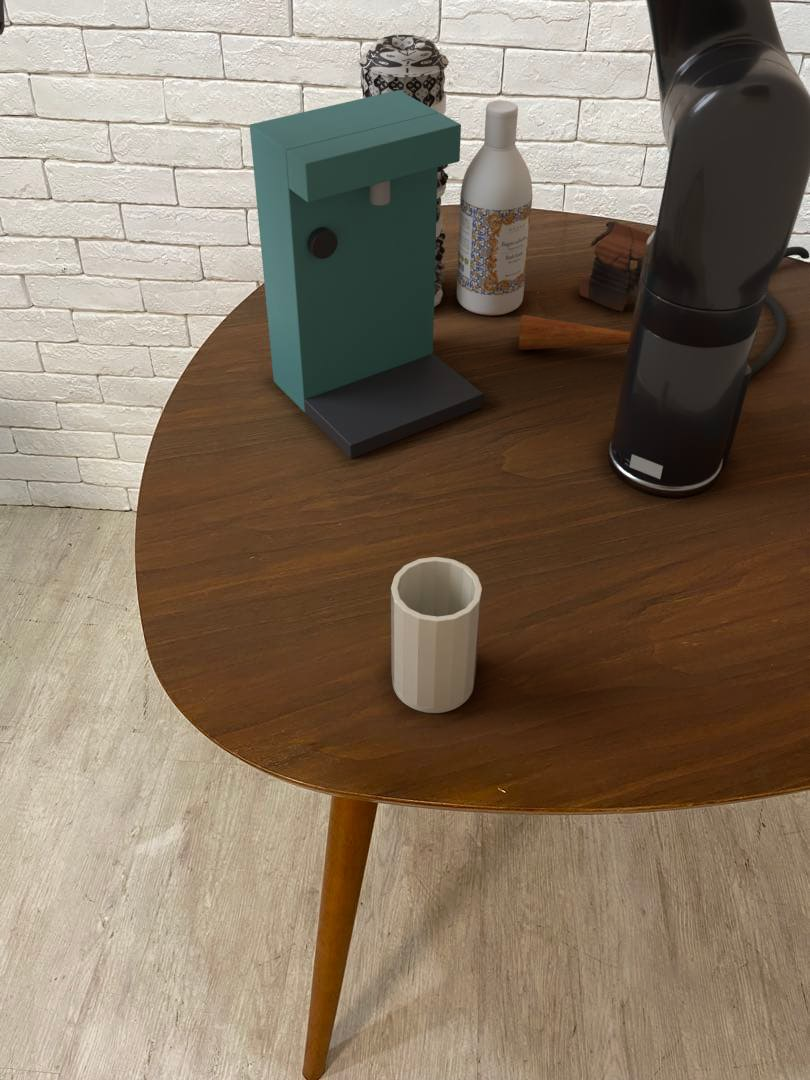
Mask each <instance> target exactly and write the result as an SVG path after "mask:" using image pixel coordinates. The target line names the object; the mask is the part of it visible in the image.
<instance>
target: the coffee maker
mask: <svg viewBox="0 0 810 1080" xmlns="http://www.w3.org/2000/svg"><path fill="white" fill-rule="evenodd" d="M249 134H250V144H251V155H252V168H253V177H254V186H255V188H254V189H255V197H256V209H257V210H256V211H257V219H258V220H257V221H258V228H259V229H258V230H259V239H260V241H259V242H260V250H261V251H260V252H261V261H262V262H261V263H262V273H263V283H264V292H265V293H264V294H265V304H266V314H267V315H266V316H267V323H268V324H267V325H268V334H269V335H268V336H269V346H270V356H271V366H272V367H271V368H272V376H273V377H272V379H273V382H274V383H275V385H277V387H278V388H279V389H280V390H281V391H283V392H284V393H285V395H287V396H288V397H289V398H290V400H291V401H293V403H295V405H297V406H298V408H300V410H301V411H302V412H303V413H305V414H306V415H307V417H308V418H310V420H311V421H313V422H314V424H316V425H317V426H318V427H319V428H320V430H321V431H323V432H324V433H325V435H326V436H328V437H329V439H330V440H331V441H333V442H334V443H335V445H336V446H337V447H339V448H340V450H342V452H344V453H345V455H346V456H348V457H349V458H350V459H355V458H356V457H359V456H362V455H364V454H366V453H369V452H372V451H375V450H377V449H379V448H383V447H384V446H388V445H390V444H392V443H395V442H398V441H400V440H403V439H405V438H409V437H410V436H412V435H415V434H418V433H420V432H423V431H426V430H427V429H430V428H433V427H436V426H438V425H440V424H443V423H445V422H448V421H451V420H453V419H455V418H458V417H460V416H464V415H466V414H469V413H470V412H473V411H476V410H479V409H481V408H483V405H484V403H483V401H484V393H483V392H481V390H479V388H477V387H476V386H474V385H473V384H472V383H471V382H470V381H468V380H467V379H466V378H465V377H463V376H462V375H461V374H459V373H458V372H457V371H456V370H454V369H453V368H452V367H451V366H450V365H448V364H447V363H446V362H445V361H444V360H442V359H441V358H440V357H438V356H437V355H436V354H434V327H435V326H434V323H435V320H434V319H435V307H434V289H435V252H436V214H437V177H438V167H441V166H445V165H448V166H449V165H452V164H455V163H459V162H460V159H461V137H462V136H461V134H462V124H461V123H459V122H457V121H455V120H454V119H452V118H451V117H448V116H447V115H445V114H444V115H443V114H441V113H439V112H437V111H436V110H434V109H432V108H430V107H428V106H427V105H425V104H423V103H421V102H419V101H418V100H416V99H414V98H412V97H410V96H408V95H407V94H405V93H403V92H401V91H399V90H397V91H393V92H388V93H384V94H380V95H375V96H371V97H367V98H362V99H361V98H358V99H354V100H350V101H346V102H341V103H337V104H333V105H332V104H331V105H328V106H323V107H319V108H315V109H311V110H306V111H302V112H298V113H297V112H296V113H294V114H289V115H284V116H279V117H276V118H272V119H267V120H263V121H258V122H255V123H250V124H249Z"/></svg>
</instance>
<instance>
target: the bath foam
mask: <svg viewBox="0 0 810 1080" xmlns="http://www.w3.org/2000/svg"><path fill="white" fill-rule="evenodd" d="M518 114H519V106H518V105H517V104H516V103H515V102H513V101H509V100H493V101H490V102H488V103H487V104H486V107H485V120H484V121H485V122H484V143H483V144H482V145H481V147H480V149H479V150H478V151H477V153H476V154H475V155H474V157H473V158H472V159H471V161H470V162H469V164H468V166H467V168H466V171H465V172H464V176H463V179H462V183H461V188H460V190H461V191H460V195H459V197H460V198H459V199H460V200H459V222H458V223H459V224H458V246H457V270H456V271H457V272H456V299H457V302H458V303H459V305H460V306H461V307H462V308H464V309H466V310H467V311H469V312H471V313H474V314H477V315H482V316H500V315H501V316H502V315H506V314H509V313H511V312H514V311H515V310H517V309H518V308H519V307H520V306H521V305H522V303H523V301H524V294H525V293H524V292H525V283H526V272H527V262H528V261H527V260H528V251H529V250H528V249H529V239H530V229H531V217H532V206H533V182H532V177H531V173H530V170H529V167H528V166H527V163H526V161H525V160H524V158H523V156H522V154H521V152H520V150H519V148H518V147H517V145H516V141H517V140H516V139H517V130H518V129H517V128H518V117H519V115H518Z"/></svg>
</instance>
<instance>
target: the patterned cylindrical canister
mask: <svg viewBox="0 0 810 1080" xmlns="http://www.w3.org/2000/svg"><path fill="white" fill-rule="evenodd" d="M358 63H359V65H360V68H361V86H362V88H361V89H362V90H361V94H360V99H362V98H367V97H371V96H375V95H380V94H384V93H388V92H393V91H397V90H399V91H401V92H403V93H405V94H407V95H408V96H410V97H412V98H414V99H416V100H418V101H419V102H421V103H423V104H425V105H427V106H428V107H430V108H432V109H434V110H436V111H437V112H439V113H441V114H443V115H445V113H446V111H447V94H446V93H445V89H444V88H445V83H446V75H445V69H446V68H447V67H448V65H449V63H450V61H449V59H448V57H447V56H446V55H444V54H443V53H441V52H440V50H439V49H438V47H437V46H436V44H435V43H434V42H433V41H432V40H430V39H428V38H426V37H424V36H419V35H415V34H394V35H387V36H383V37H381V38H379V39H377V40H375V41H374V42H373V43H372V45H371V46H370V47H369V48H368V51H367V52H366V53H364V54H362V55H361V56H360V58H359V59H358ZM448 167H449V164H448V165H445V166H441V167H438V177H437V214H436V252H435V289H434V308H435V307H436V306H438V305H439V304H441V301H442V298H443V296H444V295H443V293H444V292H443V290H442V289H443V286H442V284H443V283H444V282H445V278H444V277H443V274H444V273H443V270H444V269H445V268H446V267H445V264H444V263H443V262H442V261H443V257H444V256H443V254H444V253H445V252H446V250H445V247H444V246H443V244H444V240H445V239H446V234H445V232H443V215H442V213H441V206H442V196H444V194H445V191H446V189H447V182H448V181H449V175H448V174H447V173H446V172H445V169H447V168H448Z"/></svg>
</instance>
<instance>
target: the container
mask: <svg viewBox="0 0 810 1080" xmlns="http://www.w3.org/2000/svg"><path fill="white" fill-rule="evenodd" d="M482 595H483V587H482V584H481V581H480V578H479V576H478V574H476V573H475V572H474V571H473V570H472V569H471V568H470V567H469V566H468V565H467V564H464V563H462V562H460V561H459V560H455V559H454V558H448V557H442V556H441V557H440V556H432V557H431V556H430V557H424V558H423V557H422V558H418V559H416V560H414V561H411V562H409V563H407V564H405V565H403V566H402V567H401V568H400V569H399V570H398V571H397V572H396V574H395V575H394V577H393V580H392V583H391V586H390V635H391V636H390V640H391V642H390V645H391V646H390V647H391V650H390V651H391V653H390V654H391V658H390V659H391V661H390V662H391V666H390V667H391V683H392V688H393V690H394V692H395V695H396V696H397V697H398V699H399V700H400V701H401V703H403V704H405V705H406V706H407V707H409V708H411V709H413V710H415V711H419V712H422V713H425V714H441V713H447V712H451V711H453V710H456V709H457V708H459V707H461V706H462V705H463V704H464V703H466V702H467V701H468V700H469V699H470V697H471V695H472V693H473V691H474V688H475V681H476V675H477V674H476V673H477V661H478V660H477V659H478V650H479V649H478V648H479V635H480V621H481V610H482Z"/></svg>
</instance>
